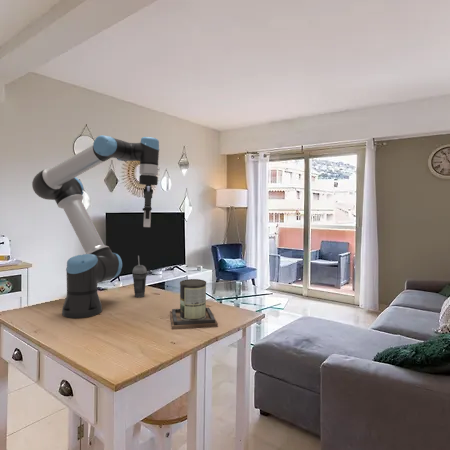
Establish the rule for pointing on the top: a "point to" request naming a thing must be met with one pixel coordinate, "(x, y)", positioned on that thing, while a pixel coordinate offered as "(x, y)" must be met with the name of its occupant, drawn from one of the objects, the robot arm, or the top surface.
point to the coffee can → (192, 299)
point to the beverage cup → (139, 279)
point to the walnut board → (184, 324)
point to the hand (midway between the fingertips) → (146, 225)
